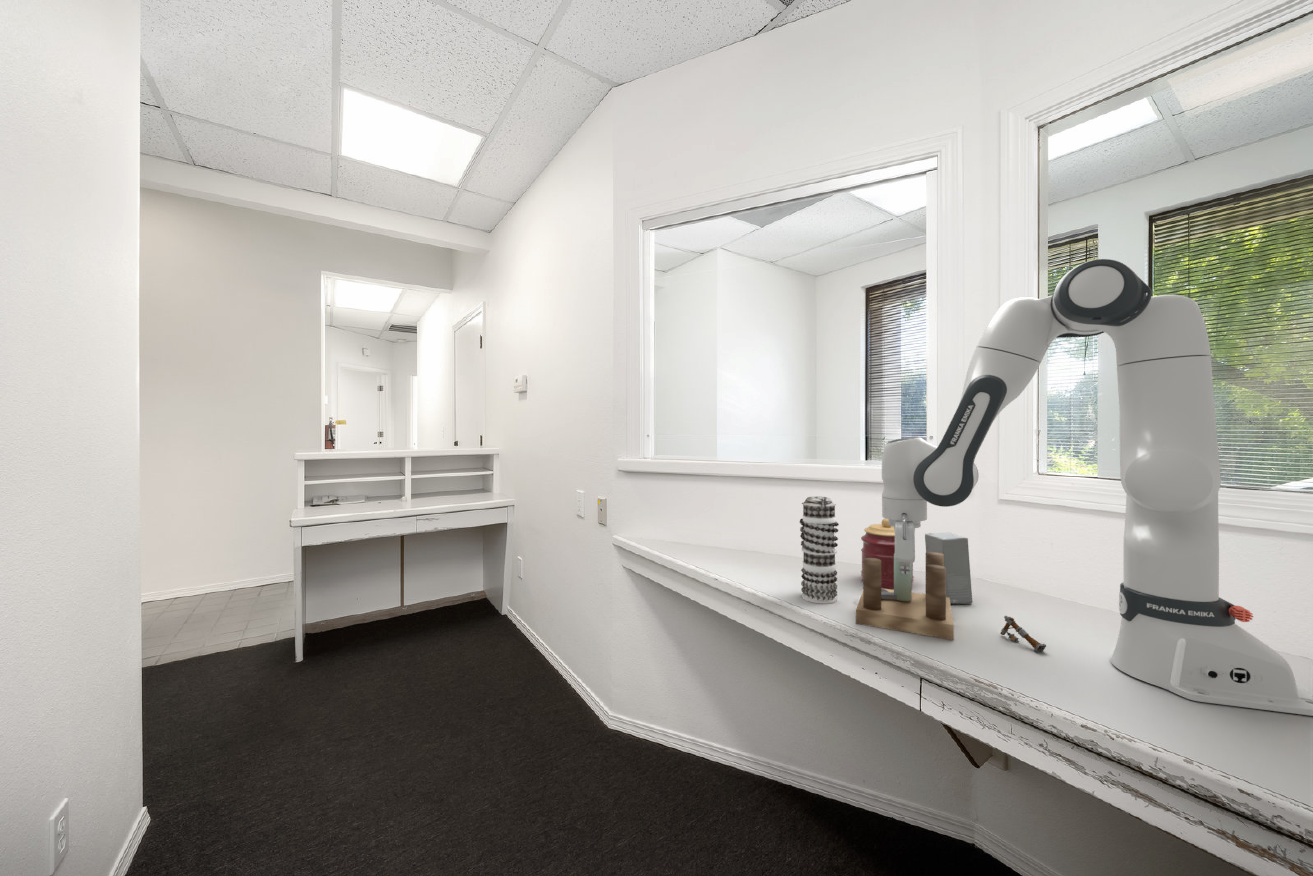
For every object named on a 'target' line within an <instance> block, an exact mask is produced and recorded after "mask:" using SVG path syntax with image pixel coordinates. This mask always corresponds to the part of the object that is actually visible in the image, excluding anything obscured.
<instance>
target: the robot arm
mask: <svg viewBox="0 0 1313 876" xmlns="http://www.w3.org/2000/svg"><path fill="white" fill-rule="evenodd" d="M1152 295H1153V290H1152V288H1151V287H1150V286H1149V285H1147V284H1146V283H1145V281H1143V280H1142V279H1141V278H1140V277H1139V276H1138V274H1137V273H1135V271H1134V270H1133V269H1131V268H1130V267H1129V266H1128V265H1127V264H1125V263H1123V262H1120V261H1118V260H1116V259H1110V258H1109V259H1107V258H1100V259H1099V258H1098V259H1093V260H1089V261H1086V262H1082V263H1080V264H1078V265H1077V266H1074V267H1073V268H1072V269H1070V270H1069V271H1067V273H1065V274H1064V275H1063V277H1061V279H1060V280H1059V281H1058V283H1057V284H1056V287H1055V289H1054V292H1053V294H1052V295H1049V296H1047V297H1044V298H1036V297H1027V296H1025V297H1024V296H1023V297H1017V298H1013V299H1010V300H1008V301H1006V302H1005V303H1004V304H1003V305H1001V306H1000V307H999V309H998V310H997V312H996V313H995V315H993V317H992V319H991V321H990V322H989V324H988V325H987V327H986V328H985V330H984V332H983V334H982V335H981V337H980V339H979V341H978V343H977V345H976V348H975V349H974V352H973V354H972V356H971V360H970V361H969V365H968V368H967V371H966V375H965V380H964V383H963V384H964V385H963V388H962V393H961V395H960V396H961V397H960V401H959V403H958V406H957V408H956V410H955V412H954V415H953V416H952V418H951V420H950V422H949V425H948V427H947V428H946V431H945V432H944V435H943V436H942V438H941V441H940V443H939V444H938V446H937V445H935V444H933V443H931V442H928V441H926V440H925V439H923V438H922V437H920V436H908V437H903V438H896V439H892V440H891V441H889V442H886V444H885V446H883V451H882V457H881V458H882V460H881V480H882V482H883V490H882V494H881V507H882V508H881V512H882V513H881V518H883V519H889V525H890V526H893V527H894V532H895V559H896V561H899V562H900V572H901V573H902V574H909V573H910V563H913V564H914V562H916V561H915V560H916V544H915V543H916V537H915V536H916V535H915V533H916V529H919V528H921V525H922V524H921V522H924V521H927V519H928V503H929V504H931V505H934V506H937V507H942V508H943V507H944V508H945V507H946V508H947V507H954V506H957V505H960V504H961V503H963V502H964V501H966V500H967V498H969V497H970V495H971V493H972V490H974V488H975V486H976V485H977V484H978V481H979V470H978V467H977V464H975V463H974V462H975V460H976V456H977V454H978V452H979V450H980V448H981V447H982V444H983V442H984V441H985V438H986V436H987V434H988V432H989V430H991V426H992V424H993V423H994V422H995V420H996V418H997V417H998V416H999V414H1000V413H1001V412H1002V411H1003V410H1004V408H1006V407H1007V406H1008V405H1010V404H1011V403H1012V402H1013V401H1014V400H1016V399H1017V398H1018V397H1019V396H1020V395H1021V394H1022V393H1023V392H1024V390H1026V388H1027V386H1028V385H1029V383H1030V382H1031V381H1032V379H1033V377H1034V376H1035V374H1036V372H1037V370H1038V369H1039V367H1040V365H1041V364H1042V361H1043V360H1044V357H1045V355H1046V352H1047V351H1048V349H1049V347H1050V346H1051V344H1052V343H1053V342H1054V340H1056V339H1060V338H1062V339H1063V338H1088V337H1094V336H1098V335H1101V334H1106V335H1107V336H1108V337H1109V338H1111V339H1112V343H1114V348H1115V355H1116V359H1115V360H1116V374H1117V375H1116V377H1117V390H1118V391H1117V393H1118V405H1119V469H1120V471H1119V472H1120V483H1121V486H1122V489H1123V490H1124V492H1125V494H1126V497H1125V499H1126V500H1125V514H1124V516H1125V517H1124V518H1125V520H1124V532H1123V579H1122V580H1123V581H1122V582H1121V583H1120V585H1119V592H1118V610H1119V615H1120V616H1121V620H1120V626H1119V632H1118V636H1117V640H1116V643H1115V647H1114V650H1113V652H1112V654H1111V656H1110V659H1109V660H1110V662H1111V664H1112V665H1113V666H1114V667H1115V668H1116V669H1118V670H1119V671H1121V672H1122V673H1125V674H1127V675H1129V676H1131V677H1133V678H1135V679H1138V680H1140V681H1143V682H1145V683H1148V684H1151V685H1154V686H1157V687H1160V688H1162V689H1164V690H1167V691H1170V692H1171V693H1174V694H1176V695H1178V696H1180V697H1183V698H1184V699H1186V700H1187V699H1188V700H1191V701H1195V702H1200V703H1201V702H1202V703H1208V704H1215V705H1216V704H1217V705H1225V706H1231V707H1241V708H1247V709H1248V708H1249V709H1257V710H1263V711H1264V710H1265V711H1270V712H1271V711H1273V712H1280V713H1288V714H1295V715H1296V714H1297V715H1304V716H1309V717H1310V716H1312V717H1313V695H1312V694H1310V692H1308V691H1307V690H1305V689H1304V688H1302V687H1300V686H1299V685H1297V682H1296V678H1295V675H1294V671H1293V670H1292V667H1291V665H1290V664H1289V662H1288V661H1287V660H1286V659H1285V658H1284V657H1283V656H1282V655H1281V654H1280V653H1279V652H1277V651H1276V650H1274V649H1273V648H1272V647H1270V646H1269V645H1267V643H1264V642H1263V641H1262V640H1260V639H1259V638H1257V637H1256V636H1254V635H1253V634H1252V633H1250V632H1248V631H1247V630H1245V629H1244V628H1242V627H1241V626H1239V625H1238V624H1236V622H1235V621H1236V620H1237V621H1239V622H1242V623H1249V622H1251V621H1252V620H1253V618H1254V616H1253V613H1252V612H1251V611H1250V610H1248V609H1246V608H1244V606H1240V605H1235V604H1233V603H1231V602H1229V601H1227V600H1225V599H1223V598H1221V596H1219V594H1220V588H1219V587H1220V576H1219V575H1220V543H1219V542H1220V541H1219V540H1220V538H1219V537H1220V536H1219V533H1220V532H1219V530H1220V529H1219V491H1220V489H1221V482H1222V478H1221V467H1220V466H1221V464H1220V455H1219V443H1218V433H1217V432H1218V431H1217V421H1216V420H1217V419H1216V409H1215V408H1216V407H1215V397H1214V395H1215V393H1214V383H1213V382H1214V381H1213V369H1212V368H1213V367H1212V366H1213V365H1212V357H1211V353H1212V352H1211V346H1210V340H1209V335H1208V331H1207V326H1206V324H1205V323H1206V322H1205V320H1204V316H1203V315H1202V312H1201V308H1200V306H1199V305H1198V303H1197V302H1196V301H1195V300H1193V299H1192V298H1190V297H1187V296H1184V295H1178V294H1163V295H1162V294H1161V295H1155V296H1154V295H1153V296H1152Z"/></svg>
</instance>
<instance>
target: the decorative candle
mask: <svg viewBox="0 0 1313 876" xmlns="http://www.w3.org/2000/svg"><path fill="white" fill-rule="evenodd" d="M801 504H802V506H803V507H802V509H803V510H802V513H803V514H802V518H800V520H799V524H800V525H801V527H799V531H800V536H799V537H800V538H801V541H800V546H801V552H803V553H802V554H803V560H802V568H801V570H800V571H801V572H802V574H801V578H802V581H801V582H800V585H801V589H800V590H801V592H802V593H801V598H802V599H804V600H805V601H806V602H810V603H814V604H820V605H821V604H822V605H823V604H826V605H827V604H835V603H836V602H837V601H838V597H837V596H838V591H837V590H838V585H837V583H836V582H837V581H838V577H837V575H838V571H837V570H836V569H837V565H836V554H837V553H838V551H837V548H836V547H838V545H839V544H838V543H837V542H836V541H838V540H839V537H837V536H836V535H835V534H836V533H839V529H838V528H837V527H839V522H837V521H836V519H837V517H836V506H837V505H836V503H834V502H833V500H832V499H831V498H830V497H826V496H808V497H806V499H805V500H804V501H803V502H802V503H801Z"/></svg>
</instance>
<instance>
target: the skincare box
mask: <svg viewBox="0 0 1313 876" xmlns="http://www.w3.org/2000/svg"><path fill="white" fill-rule="evenodd" d="M924 539H925V540H924V542H925V543H924V544H925V553H926V552H937V553H941V554H944V567H945V568H946V597H949V598H950V605H951V604H971V605H972V604H973V592H972V578H971V565H970V553H969V552H970V551H969V538H968V537H965V536H961V535H958V534H955V533H952V532H933V533H932V532H930V533H925V534H924Z"/></svg>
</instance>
